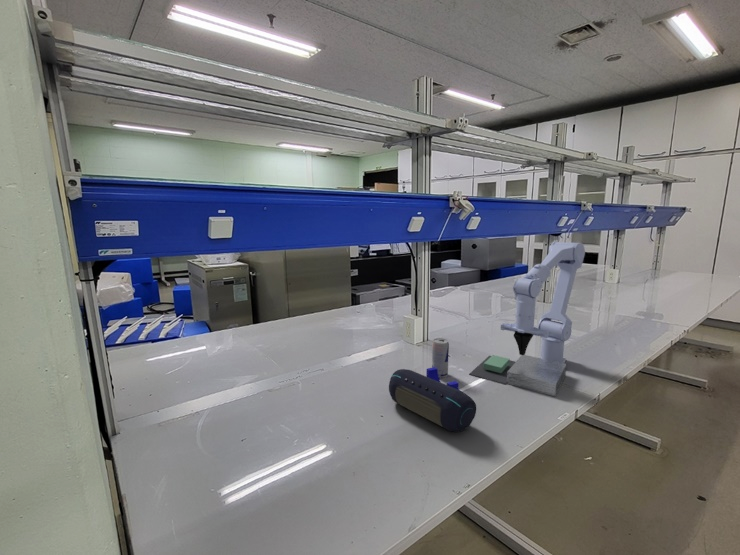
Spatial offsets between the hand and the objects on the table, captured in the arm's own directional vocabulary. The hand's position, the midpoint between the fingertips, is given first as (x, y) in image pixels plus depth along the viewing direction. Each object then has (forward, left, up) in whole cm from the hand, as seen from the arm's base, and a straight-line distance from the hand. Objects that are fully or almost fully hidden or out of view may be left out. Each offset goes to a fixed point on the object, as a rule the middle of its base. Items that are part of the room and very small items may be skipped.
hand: (522, 354), depth 117 cm
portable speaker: (+40, -13, -8) cm, 43 cm away
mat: (0, -8, -8) cm, 11 cm away
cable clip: (+27, -15, -8) cm, 32 cm away
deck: (0, +5, -8) cm, 9 cm away
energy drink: (+16, -22, -8) cm, 28 cm away
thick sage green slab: (0, -8, -5) cm, 9 cm away
